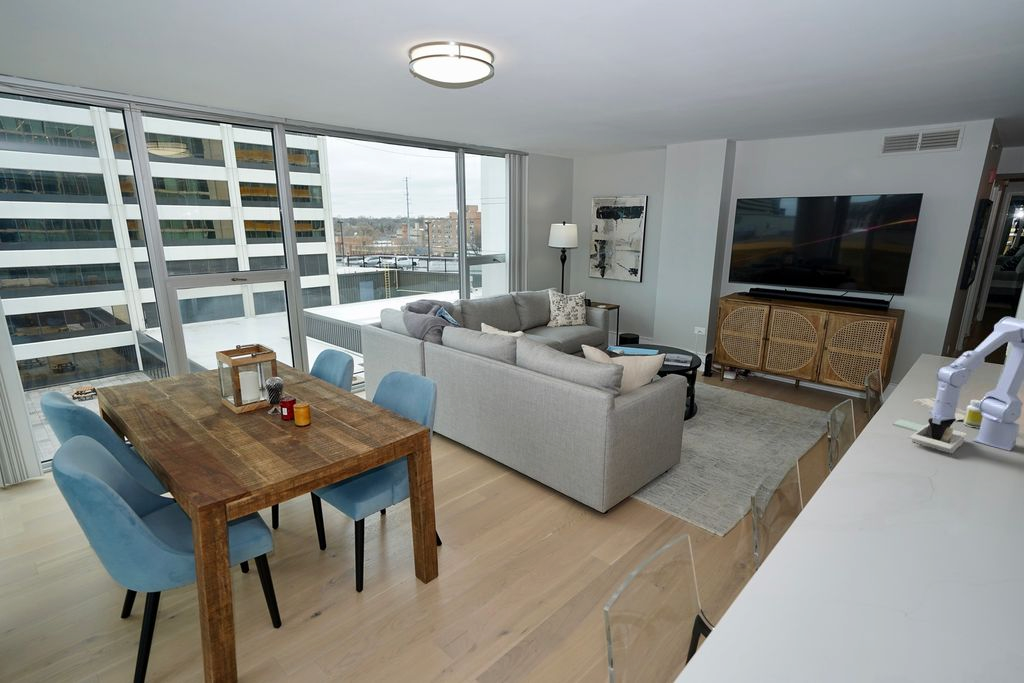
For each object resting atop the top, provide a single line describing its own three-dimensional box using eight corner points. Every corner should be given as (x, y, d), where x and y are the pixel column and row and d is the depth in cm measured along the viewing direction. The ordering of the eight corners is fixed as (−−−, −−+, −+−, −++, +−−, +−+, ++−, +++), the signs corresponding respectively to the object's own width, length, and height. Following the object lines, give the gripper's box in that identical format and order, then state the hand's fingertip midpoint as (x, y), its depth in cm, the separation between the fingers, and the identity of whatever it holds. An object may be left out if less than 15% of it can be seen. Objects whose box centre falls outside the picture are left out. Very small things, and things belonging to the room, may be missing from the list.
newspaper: (987, 423, 193) (988, 417, 193) (954, 425, 194) (955, 419, 193) (941, 401, 215) (941, 396, 215) (911, 404, 216) (912, 398, 215)
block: (949, 444, 174) (953, 428, 172) (946, 447, 171) (949, 431, 170) (928, 438, 178) (931, 423, 177) (924, 441, 176) (927, 425, 174)
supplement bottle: (985, 429, 186) (991, 404, 184) (968, 427, 188) (974, 403, 185) (975, 423, 192) (981, 399, 189) (959, 422, 193) (964, 398, 190)
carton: (965, 441, 176) (967, 433, 175) (948, 456, 165) (950, 448, 164) (926, 430, 185) (928, 423, 184) (907, 445, 173) (909, 437, 173)
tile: (925, 427, 188) (925, 425, 188) (918, 431, 184) (919, 430, 184) (899, 420, 194) (899, 419, 194) (892, 424, 190) (893, 423, 190)
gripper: (938, 393, 178) (930, 429, 182) (924, 402, 170) (916, 439, 173) (964, 399, 173) (955, 435, 176) (951, 408, 164) (942, 446, 168)
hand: (938, 438), depth 174 cm, fingers closed on block, 4 cm apart
